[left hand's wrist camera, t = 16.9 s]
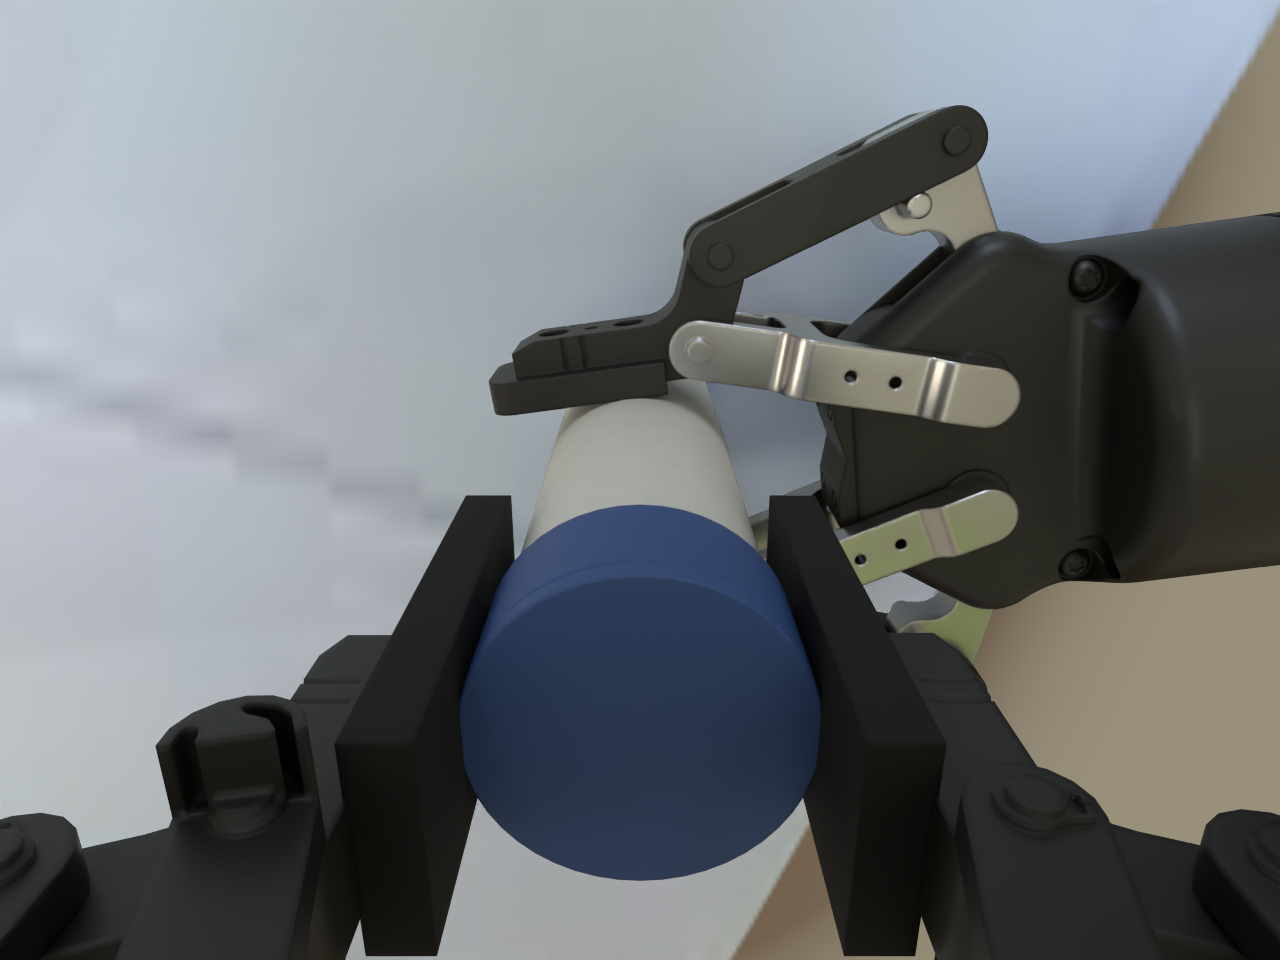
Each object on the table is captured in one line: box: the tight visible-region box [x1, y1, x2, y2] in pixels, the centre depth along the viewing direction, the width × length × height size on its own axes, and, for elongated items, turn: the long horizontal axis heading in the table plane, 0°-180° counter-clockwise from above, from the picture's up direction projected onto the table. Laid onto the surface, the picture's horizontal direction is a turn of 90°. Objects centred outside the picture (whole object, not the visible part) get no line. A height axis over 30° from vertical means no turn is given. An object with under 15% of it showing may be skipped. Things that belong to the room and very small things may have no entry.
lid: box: [459, 504, 821, 881], centre depth 11 cm, size 4×4×2 cm
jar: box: [521, 379, 759, 553], centre depth 18 cm, size 4×4×15 cm
